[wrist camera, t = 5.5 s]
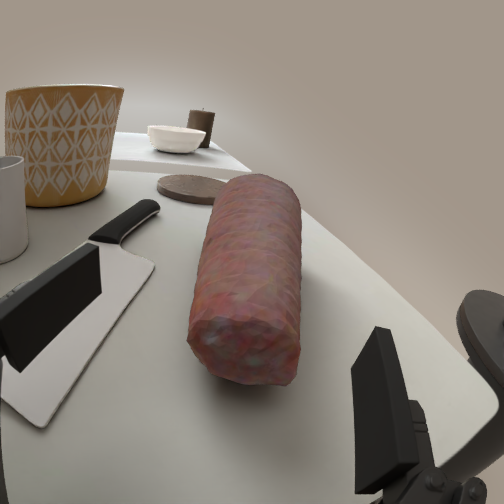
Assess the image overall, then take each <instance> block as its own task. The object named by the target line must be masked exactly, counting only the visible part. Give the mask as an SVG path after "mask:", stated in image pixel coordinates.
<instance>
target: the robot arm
mask: <svg viewBox="0 0 504 504" xmlns="http://www.w3.org/2000/svg"><path fill="white" fill-rule="evenodd" d="M100 294H102V286H101V273H100V254H99V246H97V245H94V244H91V243H88V242H87V243H86V244H84V245H83V246H81V247H79V248H78V249H76V250H75V251H73V252H72V253H70V254H69V255H67V256H66V257H64V258H63V259H61V260H60V261H58V262H57V263H55V264H54V265H52V266H51V267H49V268H48V269H46V270H45V271H44V272H42V273H41V274H39V275H38V276H36V277H35V278H34V279H32V280H29V281H26V282H24V283H21V284H19V285H18V286H16V287H15V288H14V289H12V291H10V292H8V293H7V294H6V296H3V297H2V298H0V404H1V383H2V371H3V361H2V359H1V358H2V357H3V356H4V355H5V356H6V359H7V361H8V363H9V365H10V366H12V367H13V368H14V369H15V370H17V371H18V372H19V373H21V372H22V371H23V370H24V369H25V368H26V367H27V366H28V365H29V364H30V363H31V362H32V361H33V360H34V359H35V358H36V357H37V355H38V354H39V353H40V352H41V351H42V350H43V349H44V348H45V347H46V346H47V345H48V344H49V343H50V342H51V341H52V340H53V339H54V338H55V337H56V336H57V335H58V334H59V333H60V332H61V331H62V330H63V329H64V328H65V327H66V326H67V325H68V324H70V323H71V322H72V321H73V320H74V319H75V318H76V317H77V316H78V315H79V314H80V313H81V312H82V311H83V310H84V309H85V308H86V307H87V306H88V305H90V304H91V303H92V302H93V301H94V300H95V299H96V298H97V297H98V296H99V295H100ZM503 326H504V319H503ZM351 377H352V391H353V407H354V429H355V494H375V493H377V492H378V491H380V490H381V489H383V496H382V497H380V498H378V499H377V500H375V501H373V502H371V503H370V504H485V502H486V497H487V489H486V485H485V483H484V482H483V481H482V480H481V479H480V478H477V477H473V478H470V479H468V480H467V481H465V482H464V483H460V482H456V481H452V480H448V479H447V477H446V474H445V473H444V472H443V471H442V470H441V469H440V468H438V467H435V464H434V458H433V453H432V447H431V442H430V437H429V433H428V428H427V424H426V419H425V414H424V411H423V409H422V407H421V406H420V404H419V403H418V401H417V400H408V395H407V391H406V387H405V382H404V378H403V374H402V370H401V366H400V363H399V359H398V355H397V351H396V348H395V344H394V341H393V337H392V334H391V331H390V329H386V328H382V327H377V326H375V328H374V330H373V331H372V333H371V335H370V337H369V339H368V340H367V342H366V344H365V346H364V347H363V349H362V351H361V353H360V354H359V356H358V358H357V359H356V361H355V363H354V364H353V366H352V368H351ZM0 504H9V502H8V497H7V491H6V485H5V478H4V470H3V461H2V449H1V429H0Z"/></svg>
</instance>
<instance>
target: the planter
mask: <svg viewBox="0 0 504 504" xmlns="http://www.w3.org/2000/svg"><path fill="white" fill-rule="evenodd" d="M123 92H124V88H121V87H116V86H107V85H90V84H89V85H87V84H86V85H85V84H62V85H43V86H33V87H25V88H18V89H13V90H9V91H7V92H6V104H5V154H6V156H20V157H23V158H24V184H25V205H27V206H33V207H56V206H64V205H70V204H75V203H79V202H82V201H85V200H88V199H90V198H92V197H94V196H96V195H98V194H99V193H100V192H101V191H102V190H103V189H104V187H105V186H106V183H107V178H108V171H109V164H110V157H111V151H112V145H113V139H114V134H115V129H116V124H117V118H118V114H119V110H120V105H121V101H122V97H123Z"/></svg>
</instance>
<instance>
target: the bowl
mask: <svg viewBox="0 0 504 504" xmlns="http://www.w3.org/2000/svg"><path fill="white" fill-rule="evenodd" d="M205 134H206V132H203V131H199V130H195V129H189V128H182V127H173V126H148V136H149V138H150V142H151V144H152V146H153V147H155V148H157V149H158V150H161V151H165V152H172V153H189V152H192V151H195V150H196V149H197V148H198V147H199V145H200V143H201V142H203V139H204V137H205Z"/></svg>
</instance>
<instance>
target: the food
mask: <svg viewBox="0 0 504 504" xmlns="http://www.w3.org/2000/svg"><path fill="white" fill-rule="evenodd" d="M301 230H302V220H301V207H300V203H299V200H298V198H297V196H296V194H295V193H294V191H293V190H292V188H290V187H289V186H288V185H287V184H285V183H284V182H282V181H278V180H276V179H274V178H271V177H269V176H267V175H263V174H249V175H243V176H239V177H236V178H233V179H231V180H229V181H228V182H227V183H226V184H225V185H223V186H222V188H221V189H220V190H219V192H218V194H217V196H216V198H215V201H214V205H213V209H212V214H211V216H210V220H209V223H208V226H207V231H206V237H205V240H204V242H203V248H202V252H201V258H200V261H199V266H198V272H197V276H198V278H197V282H196V284H195V290H194V299H193V304H192V307H191V312H190V317H189V329H188V337H187V340H186V341H187V342H188V343H189V345H190V346H191V349H192V351H193V352H194V354H195V356H196V357H197V358H198V359H199V360H200V362H201V363H202V364H203V365H205V366H206V367H207V369H208V371H209V372H210V373H211V374H213V375H215V376H218V377H222V378H226V379H229V380H231V381H234V382H237V383H240V384H244V385H253V384H264V385H280V386H287V385H289V384H290V383H291V382H292V380H293V379H294V377H295V376H296V374H297V366H298V360H299V355H300V350H301V348H300V342H299V340H300V312H301V299H300V290H301V286H300V283H301V279H302V278H301V264H302V263H301V258H302V255H301V243H302V240H301Z"/></svg>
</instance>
